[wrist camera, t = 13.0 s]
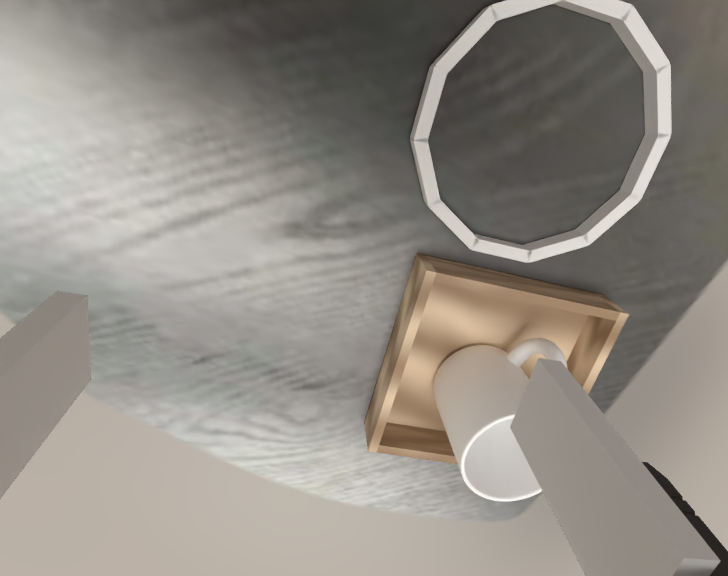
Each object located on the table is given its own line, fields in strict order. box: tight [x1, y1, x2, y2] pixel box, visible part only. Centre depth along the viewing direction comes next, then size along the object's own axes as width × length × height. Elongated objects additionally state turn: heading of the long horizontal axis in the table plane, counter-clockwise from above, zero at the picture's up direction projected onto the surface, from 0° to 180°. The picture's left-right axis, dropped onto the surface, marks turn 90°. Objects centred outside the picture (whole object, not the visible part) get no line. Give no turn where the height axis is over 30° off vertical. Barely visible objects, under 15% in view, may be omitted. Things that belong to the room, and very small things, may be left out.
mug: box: [433, 338, 567, 501], centre depth 39 cm, size 12×8×10 cm
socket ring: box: [410, 0, 671, 263], centre depth 36 cm, size 19×19×2 cm
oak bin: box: [364, 253, 629, 464], centre depth 42 cm, size 18×18×4 cm
